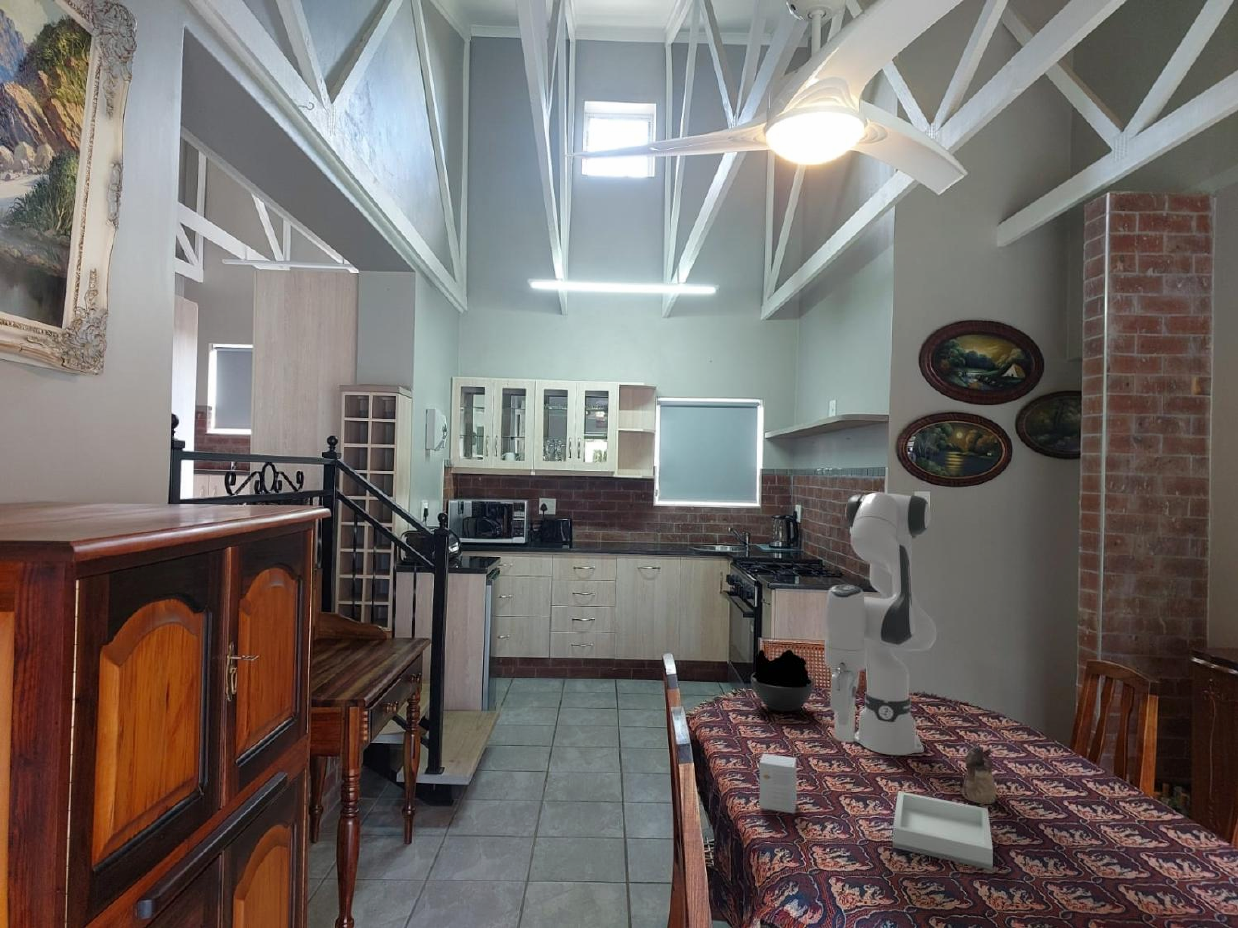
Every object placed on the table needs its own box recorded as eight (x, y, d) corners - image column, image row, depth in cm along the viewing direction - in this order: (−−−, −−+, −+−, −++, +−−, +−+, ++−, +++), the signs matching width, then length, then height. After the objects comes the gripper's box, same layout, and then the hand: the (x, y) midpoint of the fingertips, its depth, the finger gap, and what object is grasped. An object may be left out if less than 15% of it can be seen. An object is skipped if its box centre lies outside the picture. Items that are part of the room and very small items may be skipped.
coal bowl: (824, 709, 222) (825, 651, 222) (796, 725, 207) (796, 663, 207) (769, 695, 235) (770, 640, 236) (738, 710, 220) (739, 651, 221)
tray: (898, 808, 156) (898, 791, 156) (987, 826, 148) (987, 808, 148) (892, 847, 140) (892, 827, 140) (992, 869, 132) (992, 849, 132)
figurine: (968, 787, 167) (968, 738, 167) (1000, 797, 162) (1000, 746, 162) (957, 796, 162) (958, 746, 162) (990, 807, 157) (990, 755, 157)
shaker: (834, 732, 157) (835, 682, 157) (856, 736, 155) (857, 685, 155) (831, 739, 153) (832, 688, 153) (854, 743, 151) (854, 691, 151)
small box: (797, 803, 158) (797, 757, 158) (795, 814, 153) (795, 767, 153) (762, 797, 161) (762, 752, 161) (758, 808, 156) (759, 761, 156)
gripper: (854, 672, 143) (853, 738, 143) (864, 649, 162) (864, 708, 162) (823, 668, 146) (822, 732, 146) (836, 646, 164) (836, 704, 164)
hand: (844, 719), depth 154 cm, fingers closed on shaker, 4 cm apart
